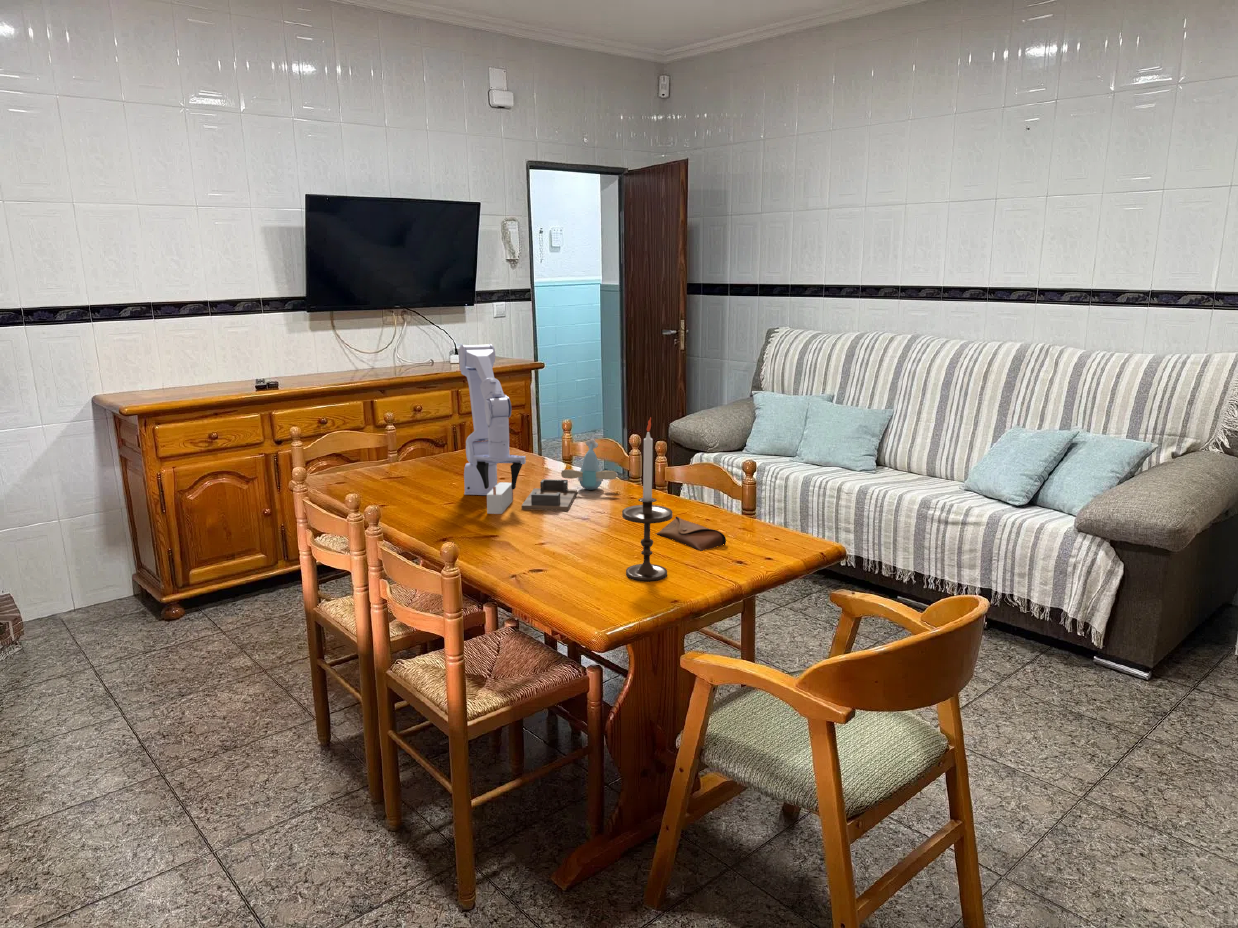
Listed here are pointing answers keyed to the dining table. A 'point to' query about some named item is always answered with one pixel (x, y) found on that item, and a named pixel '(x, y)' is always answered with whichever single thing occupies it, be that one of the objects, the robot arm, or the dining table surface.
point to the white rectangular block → (499, 498)
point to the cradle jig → (550, 496)
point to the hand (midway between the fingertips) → (500, 488)
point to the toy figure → (590, 470)
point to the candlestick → (647, 520)
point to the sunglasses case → (692, 534)
